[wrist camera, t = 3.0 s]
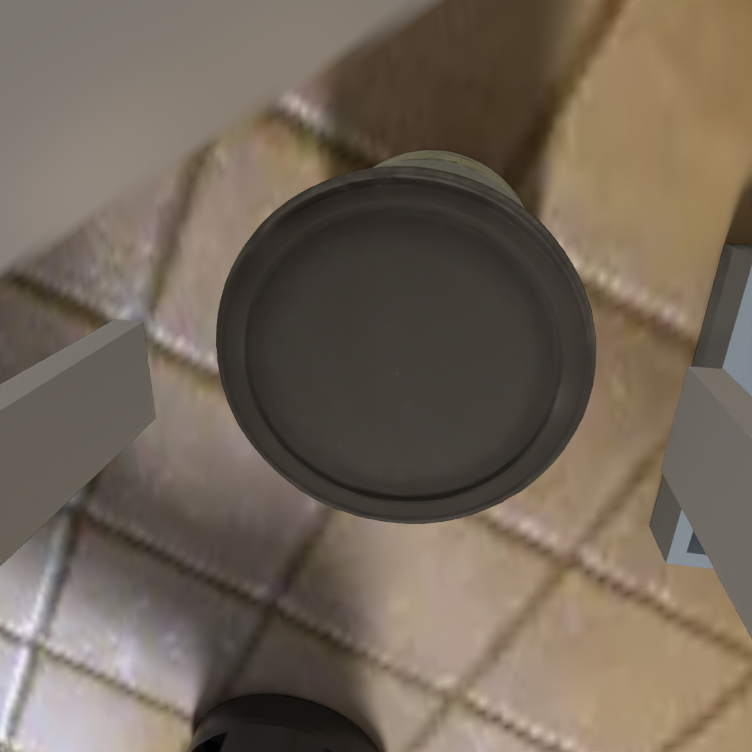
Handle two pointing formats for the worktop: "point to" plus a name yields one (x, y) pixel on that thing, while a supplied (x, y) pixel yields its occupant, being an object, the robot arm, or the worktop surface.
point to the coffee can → (407, 341)
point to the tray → (721, 351)
